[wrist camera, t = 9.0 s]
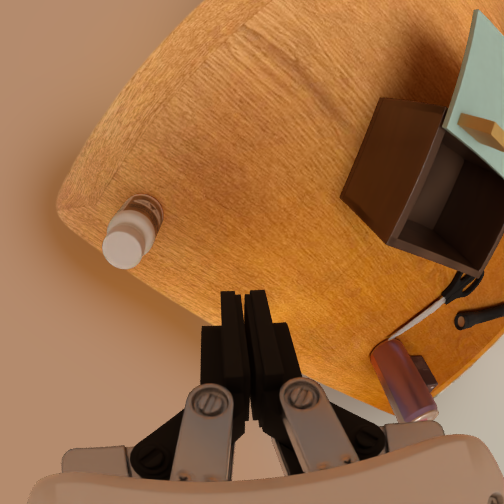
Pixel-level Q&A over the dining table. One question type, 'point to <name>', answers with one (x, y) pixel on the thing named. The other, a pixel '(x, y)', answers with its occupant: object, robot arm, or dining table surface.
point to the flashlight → (478, 317)
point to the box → (424, 372)
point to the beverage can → (402, 383)
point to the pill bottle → (132, 231)
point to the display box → (426, 188)
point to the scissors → (446, 298)
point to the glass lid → (480, 95)
